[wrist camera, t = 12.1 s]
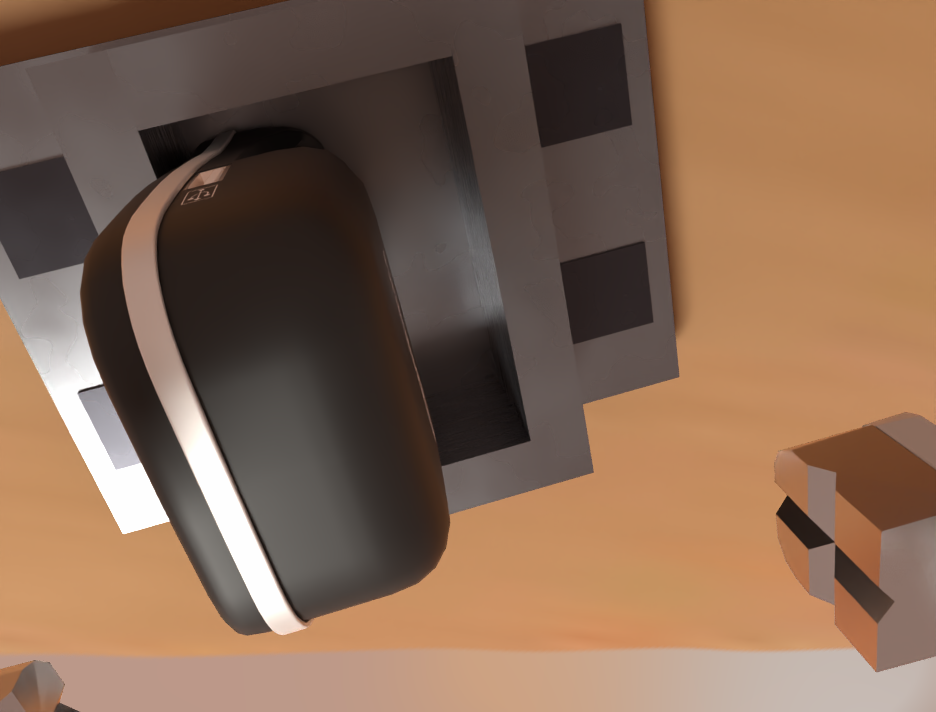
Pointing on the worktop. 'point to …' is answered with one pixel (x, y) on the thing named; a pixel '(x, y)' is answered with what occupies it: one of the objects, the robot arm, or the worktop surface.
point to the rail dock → (380, 204)
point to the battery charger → (269, 379)
